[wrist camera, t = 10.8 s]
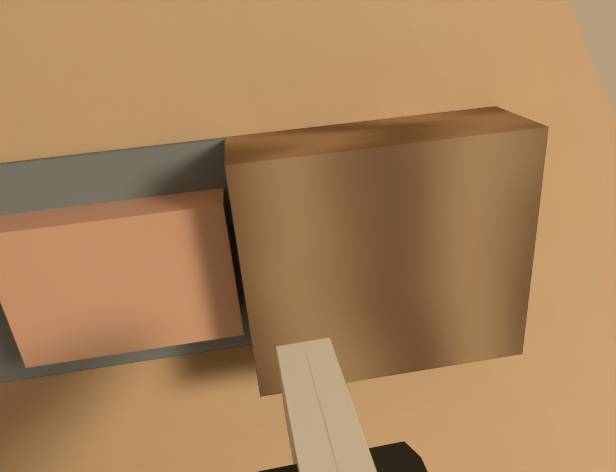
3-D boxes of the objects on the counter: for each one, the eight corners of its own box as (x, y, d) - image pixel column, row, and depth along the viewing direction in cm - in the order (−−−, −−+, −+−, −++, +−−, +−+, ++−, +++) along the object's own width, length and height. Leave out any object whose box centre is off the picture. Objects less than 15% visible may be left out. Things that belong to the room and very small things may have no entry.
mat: (-21, 382, 24) (-23, 386, 24) (-112, 176, 20) (-116, 178, 19) (260, 339, 25) (260, 343, 25) (230, 136, 21) (230, 138, 21)
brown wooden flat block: (255, 340, 25) (260, 396, 22) (225, 137, 21) (224, 165, 17) (481, 305, 26) (522, 354, 23) (495, 106, 22) (548, 127, 18)
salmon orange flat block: (41, 339, 23) (26, 367, 21) (-4, 215, 21) (-26, 236, 19) (242, 309, 24) (244, 334, 22) (223, 187, 21) (223, 204, 20)
